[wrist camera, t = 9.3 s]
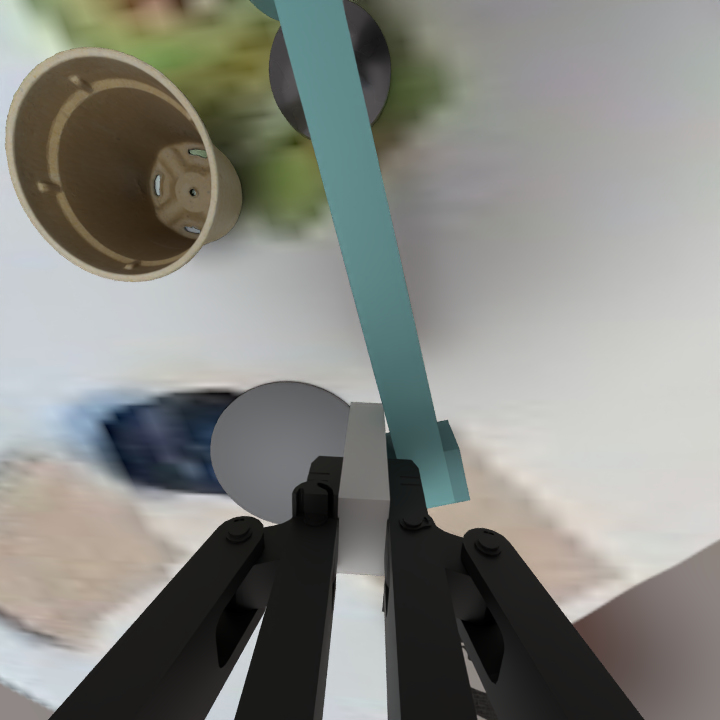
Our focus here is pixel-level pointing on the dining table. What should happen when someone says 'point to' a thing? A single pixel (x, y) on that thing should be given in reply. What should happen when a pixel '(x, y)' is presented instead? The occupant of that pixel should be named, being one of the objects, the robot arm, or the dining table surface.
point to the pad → (275, 444)
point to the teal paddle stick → (367, 238)
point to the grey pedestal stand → (368, 59)
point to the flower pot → (116, 165)
